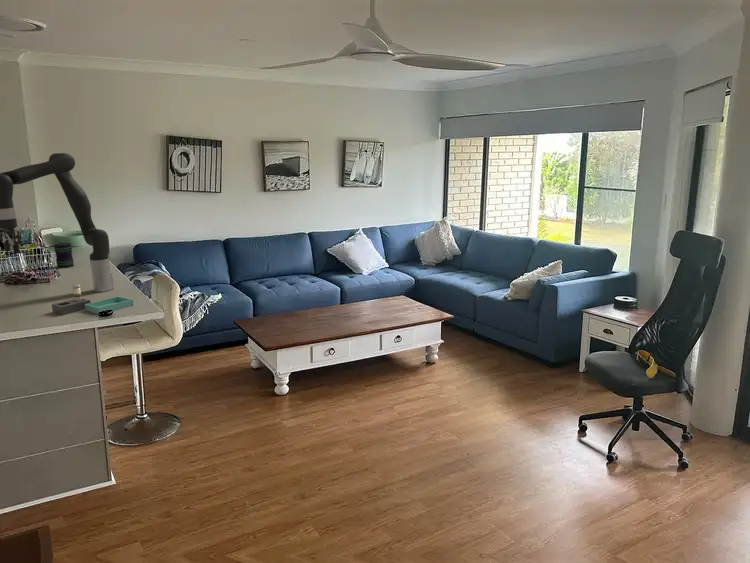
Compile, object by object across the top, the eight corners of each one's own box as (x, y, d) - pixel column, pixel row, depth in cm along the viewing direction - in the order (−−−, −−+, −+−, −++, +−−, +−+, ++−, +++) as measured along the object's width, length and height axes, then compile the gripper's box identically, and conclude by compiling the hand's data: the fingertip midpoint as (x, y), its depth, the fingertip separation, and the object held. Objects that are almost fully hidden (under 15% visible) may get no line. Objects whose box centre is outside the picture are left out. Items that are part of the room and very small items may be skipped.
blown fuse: (80, 303, 293) (77, 284, 291) (84, 305, 291) (81, 284, 289) (73, 305, 290) (70, 285, 288) (77, 306, 289) (74, 286, 286)
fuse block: (80, 305, 296) (79, 297, 296) (91, 308, 292) (90, 300, 291) (52, 312, 285) (51, 304, 284) (63, 315, 280) (61, 306, 279)
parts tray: (119, 302, 302) (118, 296, 301) (133, 305, 295) (133, 299, 295) (85, 310, 287) (84, 304, 287) (99, 314, 281) (98, 308, 280)
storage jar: (57, 266, 391) (54, 243, 387) (74, 264, 395) (71, 242, 391) (56, 268, 382) (53, 245, 378) (73, 267, 386) (70, 244, 382)
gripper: (22, 217, 279) (28, 252, 283) (7, 215, 287) (13, 249, 291) (5, 219, 273) (11, 254, 277) (-10, 217, 281) (-4, 251, 285)
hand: (12, 251), depth 284 cm, fingers open, 8 cm apart
